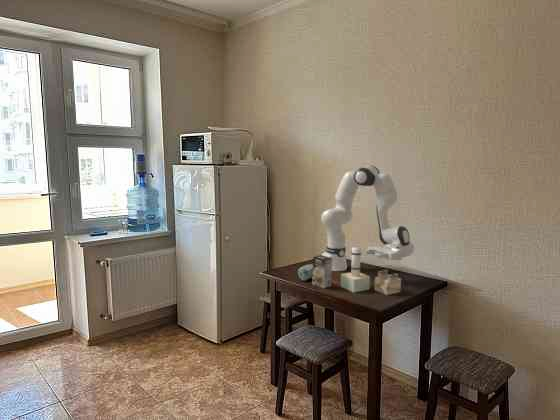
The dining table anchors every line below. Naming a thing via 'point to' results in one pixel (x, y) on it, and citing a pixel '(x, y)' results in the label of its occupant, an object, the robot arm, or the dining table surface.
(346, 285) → the beige box
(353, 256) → the white thermos bottle
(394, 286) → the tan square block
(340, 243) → the robot arm
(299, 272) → the spool
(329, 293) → the dining table surface
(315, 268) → the coffee box
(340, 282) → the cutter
